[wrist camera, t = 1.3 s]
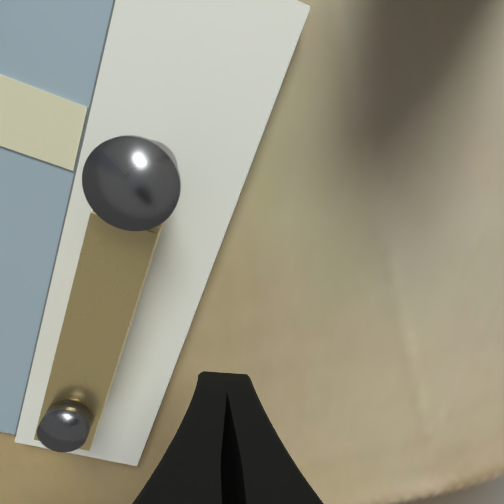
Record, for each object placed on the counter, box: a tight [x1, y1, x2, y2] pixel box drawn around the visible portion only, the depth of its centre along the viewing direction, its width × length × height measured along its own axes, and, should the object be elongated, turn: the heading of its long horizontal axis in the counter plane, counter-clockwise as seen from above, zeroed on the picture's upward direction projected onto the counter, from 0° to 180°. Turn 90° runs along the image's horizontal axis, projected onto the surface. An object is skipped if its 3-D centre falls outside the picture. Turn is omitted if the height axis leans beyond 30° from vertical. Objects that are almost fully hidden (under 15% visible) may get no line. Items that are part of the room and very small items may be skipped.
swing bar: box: [34, 211, 165, 452], centre depth 15 cm, size 10×2×3 cm, turn 159°
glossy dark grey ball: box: [82, 135, 181, 231], centre depth 13 cm, size 3×3×4 cm
